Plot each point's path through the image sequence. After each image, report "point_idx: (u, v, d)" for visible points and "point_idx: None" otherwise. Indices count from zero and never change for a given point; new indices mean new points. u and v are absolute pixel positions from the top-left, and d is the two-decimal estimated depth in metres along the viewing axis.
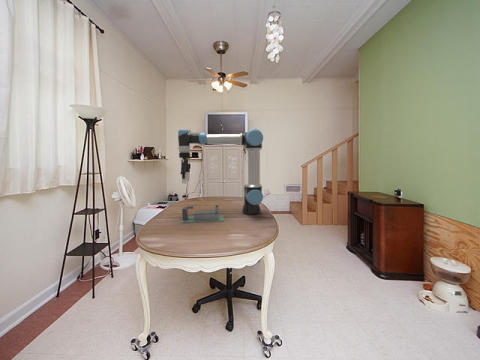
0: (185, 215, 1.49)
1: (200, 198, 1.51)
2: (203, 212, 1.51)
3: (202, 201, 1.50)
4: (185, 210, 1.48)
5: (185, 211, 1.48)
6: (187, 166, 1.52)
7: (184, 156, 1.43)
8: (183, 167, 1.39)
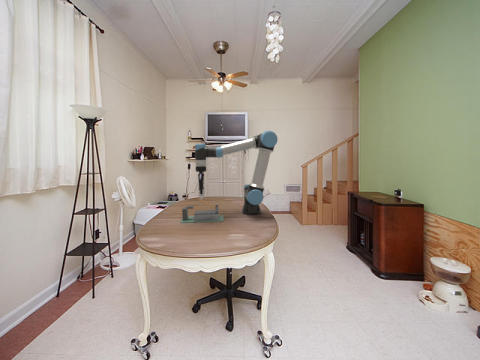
0: (185, 215, 1.49)
1: None
2: (203, 212, 1.51)
3: (202, 201, 1.50)
4: (185, 210, 1.48)
5: (185, 211, 1.48)
6: None
7: (201, 170, 1.45)
8: (201, 184, 1.45)
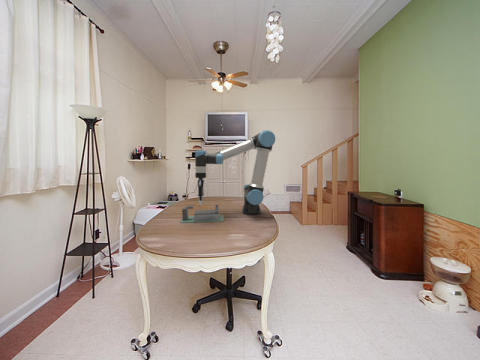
0: (185, 215, 1.49)
1: (197, 204, 1.51)
2: (203, 212, 1.51)
3: (200, 206, 1.50)
4: (185, 210, 1.48)
5: (185, 211, 1.48)
6: (202, 187, 1.51)
7: (200, 176, 1.45)
8: (200, 190, 1.46)
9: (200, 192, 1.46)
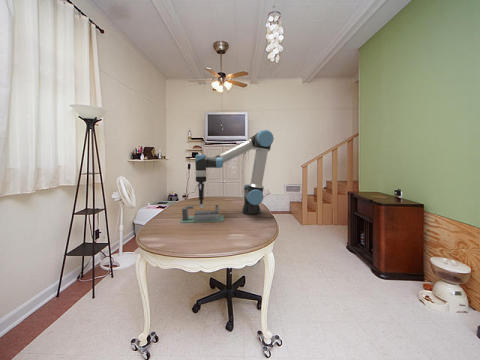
0: (185, 215, 1.49)
1: (196, 208, 1.52)
2: (203, 212, 1.51)
3: (199, 209, 1.50)
4: (185, 210, 1.48)
5: (185, 211, 1.48)
6: None
7: (201, 180, 1.46)
8: (201, 194, 1.46)
9: (201, 196, 1.47)
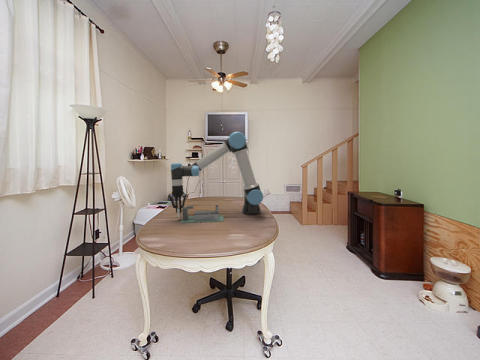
0: (185, 215, 1.49)
1: (196, 208, 1.52)
2: (203, 212, 1.51)
3: (199, 209, 1.50)
4: (185, 210, 1.48)
5: (185, 211, 1.48)
6: None
7: (172, 189, 1.48)
8: None
9: None
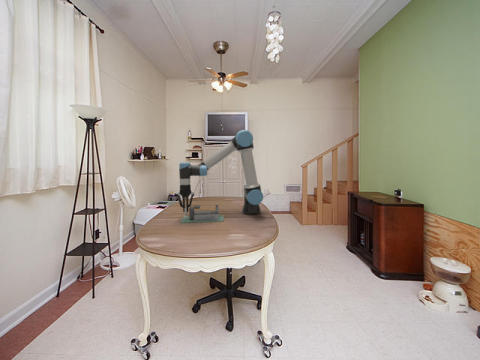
0: (192, 215, 1.49)
1: (196, 208, 1.52)
2: (203, 212, 1.51)
3: (199, 209, 1.50)
4: (192, 210, 1.48)
5: (192, 211, 1.49)
6: (186, 199, 1.49)
7: None
8: None
9: None
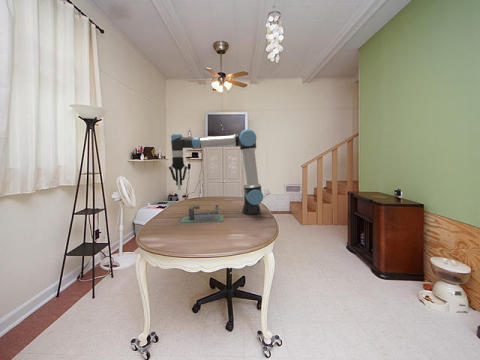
0: (192, 215, 1.49)
1: (196, 208, 1.52)
2: (203, 212, 1.51)
3: (199, 209, 1.50)
4: (192, 210, 1.48)
5: (192, 211, 1.49)
6: (179, 172, 1.46)
7: (172, 161, 1.46)
8: None
9: None
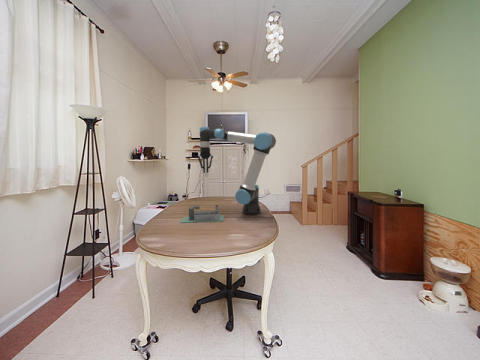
0: (192, 215, 1.49)
1: (196, 208, 1.52)
2: (203, 212, 1.51)
3: (199, 209, 1.50)
4: (192, 210, 1.48)
5: (192, 211, 1.49)
6: (206, 161, 1.65)
7: (200, 150, 1.64)
8: None
9: (200, 164, 1.65)
